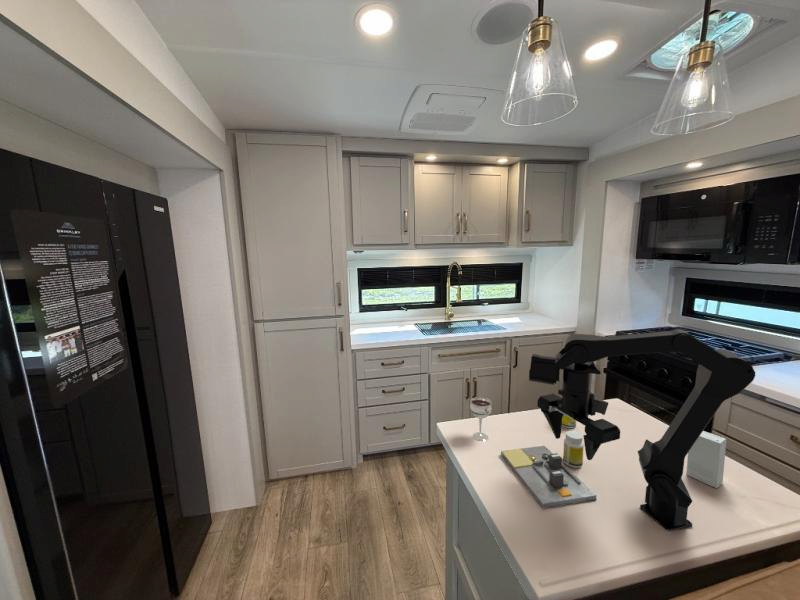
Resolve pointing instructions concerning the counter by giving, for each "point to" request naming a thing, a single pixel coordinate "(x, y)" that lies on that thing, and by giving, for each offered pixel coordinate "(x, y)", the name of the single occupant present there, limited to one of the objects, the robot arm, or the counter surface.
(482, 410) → the wineglass
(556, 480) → the toggle
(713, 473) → the skincare box
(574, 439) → the supplement bottle
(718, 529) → the counter surface
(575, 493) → the breaker panel
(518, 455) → the pad
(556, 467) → the toggle
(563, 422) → the supplement bottle
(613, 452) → the counter surface
